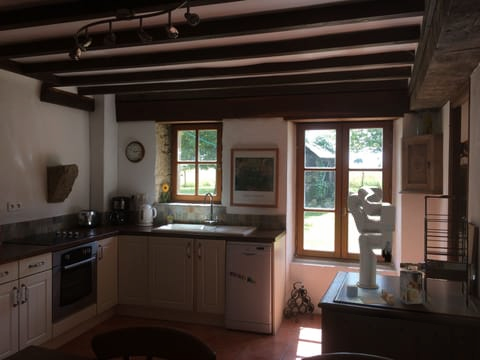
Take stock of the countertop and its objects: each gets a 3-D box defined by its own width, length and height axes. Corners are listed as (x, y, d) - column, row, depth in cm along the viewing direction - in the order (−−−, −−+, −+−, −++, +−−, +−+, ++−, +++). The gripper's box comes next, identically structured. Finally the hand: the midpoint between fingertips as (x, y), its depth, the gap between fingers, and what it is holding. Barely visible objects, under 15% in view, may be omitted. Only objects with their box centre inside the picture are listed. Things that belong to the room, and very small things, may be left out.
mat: (357, 296, 204) (357, 295, 204) (380, 297, 204) (380, 296, 204) (363, 303, 193) (363, 302, 193) (387, 303, 193) (387, 303, 193)
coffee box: (414, 299, 201) (415, 269, 201) (422, 303, 194) (423, 272, 194) (399, 300, 199) (399, 270, 199) (406, 304, 193) (407, 273, 192)
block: (346, 294, 207) (346, 284, 207) (355, 295, 207) (355, 284, 207) (348, 297, 203) (348, 286, 203) (357, 297, 203) (357, 286, 203)
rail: (381, 296, 205) (381, 289, 204) (385, 296, 204) (385, 289, 204) (389, 304, 193) (389, 296, 192) (393, 304, 192) (393, 296, 192)
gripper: (378, 225, 208) (377, 255, 208) (381, 229, 191) (380, 263, 191) (392, 225, 206) (391, 256, 206) (397, 230, 189) (396, 264, 189)
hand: (386, 259), depth 199 cm, fingers open, 9 cm apart
